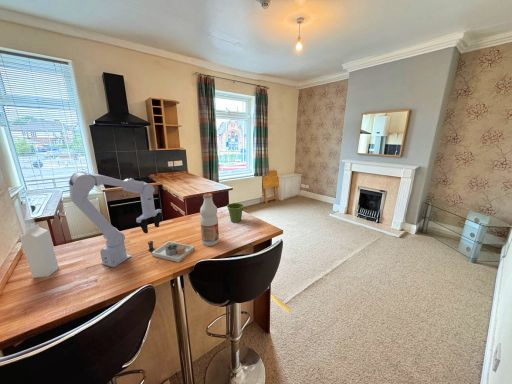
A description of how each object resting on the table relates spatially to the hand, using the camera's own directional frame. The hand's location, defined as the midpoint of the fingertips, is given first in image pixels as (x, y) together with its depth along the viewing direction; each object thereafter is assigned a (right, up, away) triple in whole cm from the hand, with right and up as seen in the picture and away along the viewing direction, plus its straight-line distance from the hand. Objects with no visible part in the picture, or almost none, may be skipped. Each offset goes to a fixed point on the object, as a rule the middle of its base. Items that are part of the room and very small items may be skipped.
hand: (151, 229), depth 111 cm
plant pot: (+42, 0, +36) cm, 55 cm away
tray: (+13, -11, -4) cm, 18 cm away
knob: (+1, -10, -2) cm, 11 cm away
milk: (-36, -15, -20) cm, 44 cm away
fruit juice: (+30, -8, +7) cm, 32 cm away
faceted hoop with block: (+15, -11, -5) cm, 19 cm away
